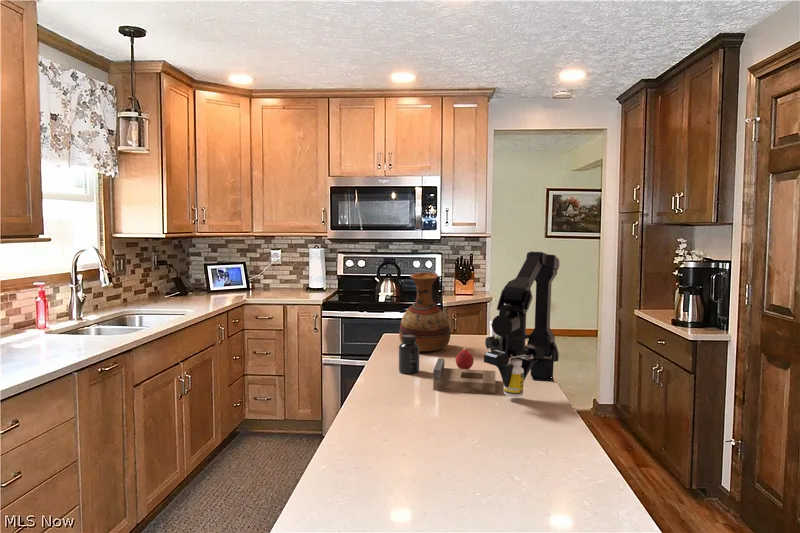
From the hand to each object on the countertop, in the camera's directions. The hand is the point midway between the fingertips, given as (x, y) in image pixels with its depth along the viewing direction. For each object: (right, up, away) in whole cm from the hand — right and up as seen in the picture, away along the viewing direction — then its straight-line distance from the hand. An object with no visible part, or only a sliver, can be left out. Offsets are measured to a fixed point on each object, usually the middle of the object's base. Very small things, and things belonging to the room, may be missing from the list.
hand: (513, 385), depth 156 cm
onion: (-11, -2, +28) cm, 30 cm away
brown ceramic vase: (-22, +1, +61) cm, 65 cm away
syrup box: (+3, -1, +42) cm, 42 cm away
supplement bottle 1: (-29, -2, +27) cm, 40 cm away
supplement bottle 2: (0, -3, 0) cm, 3 cm away
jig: (-12, -3, +13) cm, 18 cm away
